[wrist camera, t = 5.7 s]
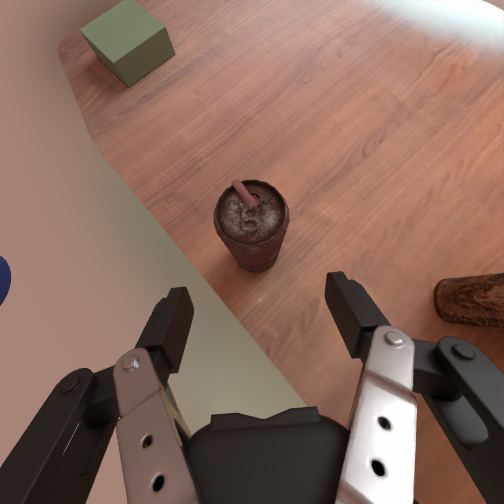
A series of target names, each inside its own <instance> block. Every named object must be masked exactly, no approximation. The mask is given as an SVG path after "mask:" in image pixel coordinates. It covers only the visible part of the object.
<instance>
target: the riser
mask: <svg viewBox="0 0 504 504" xmlns="http://www.w3.org/2000/svg"><path fill="white" fill-rule="evenodd" d="M79 31H80V32H81V34H82V35H83V36H84V38H85V39H86V41H87V42H88V44H89V45H90V47H91V48H92V49H93V51H94V52H95V54H96V55H97V57H98V58H99V59H100V60H101V61H102V62H103V63H104V64H105V65H106V66H108V67H109V68H110V69H111V70H112V71H113V72H114V73H115V74H116V75H117V76H118V77H119V78H120V79H121V80H122V81H123V82H124V83H125V84H126V85H127V86H128V87H130V86H132V85H133V84H135V83H136V82H137V81H139V80H140V79H141V78H143V77H144V76H146V75H147V74H148V73H150V72H151V71H152V70H154V69H155V68H157V67H158V66H159V65H161V64H162V63H163V62H165V61H166V60H168V59H169V58H170V57H172V56H173V55H174V54H175V52H174V49H173V46H172V43H171V41H170V38H169V35H168V32H167V29H166V27H165V26H164V25H163V24H162V23H161V22H159V21H158V20H157V19H156V18H155V17H153V16H152V15H151V14H150V13H148V12H147V11H146V10H145V9H144V8H142V7H141V6H140V5H139V4H138V3H136V2H135V1H134V0H124V1H123V2H121V3H120V4H118V5H117V6H115V7H113V8H112V9H110V10H109V11H107V12H106V13H104V14H103V15H101V16H100V17H98V18H97V19H95V20H94V21H92V22H91V23H89V24H88V25H86V26H85V27H83V28H82V29H80V30H79Z"/></svg>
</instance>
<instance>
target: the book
mask: <svg viewBox="0 0 504 504" xmlns="http://www.w3.org/2000/svg"><path fill="white" fill-rule="evenodd" d="M434 305H435V308H436V311H437V313H438V315H439V316H440V318H441V319H442V320H443V321H445V322H449V323H455V324H461V325H467V326H473V327H479V328H485V329H491V330H498V331H504V273H500V274H490V275H480V276H470V277H460V278H450V279H443V280H441V281H440V282H439V283H438V284H437V285H436V288H435V291H434Z"/></svg>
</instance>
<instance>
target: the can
mask: <svg viewBox="0 0 504 504" xmlns="http://www.w3.org/2000/svg"><path fill="white" fill-rule="evenodd" d="M288 224H289V208H288V206H287V204H286V201H285V199H284V198H283V196H282V195H281V194H280V193H279V192H278V191H277V189H276V188H275V187H273V186H272V185H270V184H268V183H267V182H263V181H259V180H243V181H240V180H234V181H233V182H232V185H231V186H230V187H229V188H227V189H226V190H225V191H224V192H223V194H222V195H221V196H220V197H219V200H218V202H217V205H216V208H215V210H214V226H215V229H216V232H217V234H218V236H219V237H220V238H221V240H222V241H223V242H224V244H225V245H226V246H227V248H228V249H229V251H230V252H231V253H232V255H233V256H234V257H235V259H236V260H237V261H238V263H239V264H240V265H241V267H243V268H244V269H246V270H248V271H251V272H262V271H265V270H267V269H269V268H270V267H271V266H273V264H274V263H275V261H276V260H277V257H278V254H279V251H280V248H281V245H282V242H283V239H284V236H285V234H286V230H287V227H288Z"/></svg>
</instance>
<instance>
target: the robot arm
mask: <svg viewBox="0 0 504 504" xmlns="http://www.w3.org/2000/svg"><path fill="white" fill-rule="evenodd" d="M325 300H326V303H327V306H328V308H329V310H330V312H331V314H332V316H333V319H334V321H335V323H336V325H337V327H338V330H339V332H340V334H341V336H342V338H343V340H344V343H345V345H346V347H347V349H348V351H349V354H350V356H351V358H352V359H354V358H360V359H361V361H362V363H363V366H362V369H361V373H360V377H359V381H358V385H357V389H356V393H355V397H354V401H353V404H352V408H351V411H350V415H349V418H348V422H347V425H346V428H345V427H344V426H342V425H341V424H339V423H338V422H336V421H334V420H333V419H331V418H328V417H326V416H323V415H319V413H318V409H317V406H315V407H303V408H291V409H288V410H286V411H283V412H281V413H279V414H276V415H274V416H272V417H269V418H266V419H260V418H256V417H252V416H248V415H244V414H240V413H228V414H215V415H211V423H210V424H208V425H206V426H204V427H203V428H201V429H200V430H198V431H197V432H196V433H194V434H193V435H191V433H190V431H189V429H188V427H187V425H186V423H185V421H184V420H183V417H182V415H181V413H180V410H179V408H178V405H177V403H176V401H175V398H174V396H173V393H172V391H171V388H170V386H169V384H168V382H167V381H168V378H169V375H170V374H172V373H178V371H179V367H180V363H181V360H182V356H183V353H184V349H185V345H186V342H187V338H188V334H189V331H190V327H191V323H192V319H193V315H194V307H193V303H192V301H191V298H190V296H189V293H188V290H187V288H186V287H177V288H171V290H170V292H169V294H168V296H167V298H162V299H161V300H160V301H159V302H158V304H156V306H155V308H154V310H153V312H152V315H151V316H150V318H149V320H148V322H147V324H146V326H145V328H144V330H143V332H142V334H141V336H140V338H139V340H138V342H137V344H136V346H135V348H134V349H132V350H130V351H128V352H127V353H125V354H124V355H123V356H122V357H121V358H120V359H119V360H118V361H117V363H116V364H115V365H114V366H111V367H109V368H106V369H104V370H101V371H98V372H96V373H93V372H92V371H91V370H90V369H88V368H81V369H78V370H75V371H73V372H71V373H70V374H68V375H67V376H65V377H64V378H63V379H62V380H61V381H60V382H59V383H58V384H57V385H56V386H55V388H54V389H53V391H52V392H51V394H50V395H49V397H48V398H47V400H46V401H45V402H44V404H43V405H42V407H41V408H40V410H39V411H38V413H37V414H36V416H35V417H34V419H33V420H32V422H31V423H30V425H29V426H28V428H27V429H26V430H25V432H24V433H23V435H22V436H21V438H20V439H19V441H18V442H17V444H16V445H15V447H14V448H13V450H12V452H11V453H10V454H9V456H8V457H7V458H6V460H5V461H4V463H3V464H2V466H1V468H0V504H86V501H87V498H88V496H89V493H90V491H91V488H92V486H93V483H94V480H95V478H96V475H97V472H98V470H99V467H100V465H101V462H102V459H103V457H104V455H105V452H106V449H107V447H108V444H109V442H110V439H111V436H112V434H113V431H114V429H115V426H116V433H117V439H118V446H119V452H120V458H121V464H122V471H123V477H124V483H125V489H126V495H127V502H128V504H419V503H418V502H417V501H416V500H415V499H414V498H413V489H414V465H415V441H416V418H417V400H416V397H415V396H413V394H412V391H413V392H417V393H420V394H421V395H422V396H423V398H424V400H425V401H426V403H427V405H428V406H429V408H430V410H431V411H432V413H433V415H434V416H435V418H436V420H437V421H438V423H439V425H440V426H441V428H442V430H443V431H444V433H445V435H446V436H447V438H448V440H449V441H450V443H451V445H452V446H453V448H454V450H455V451H456V453H457V455H458V456H459V458H460V460H461V461H462V463H463V465H464V466H465V468H466V470H467V471H468V473H469V475H470V476H471V478H472V480H473V481H474V483H475V485H476V486H477V488H478V490H479V491H480V493H481V495H482V496H483V498H484V500H485V501H486V503H487V504H504V373H503V372H502V371H501V370H500V369H499V368H498V367H497V366H496V365H495V364H494V363H493V362H492V361H491V360H490V359H489V358H488V357H487V356H486V355H485V354H484V352H482V351H481V350H480V349H479V348H478V347H476V346H475V345H473V344H472V343H470V342H468V341H466V340H464V339H461V338H458V337H453V336H446V337H442V338H441V339H440V340H439V341H438V343H433V342H427V341H422V340H417V339H412V338H410V336H409V335H408V334H406V333H405V332H404V331H402V330H400V329H399V328H396V327H393V326H391V324H390V323H389V322H388V320H387V319H386V318H385V316H384V315H383V314H382V312H381V311H380V309H379V308H378V307H377V305H376V304H375V303H374V301H372V299H371V297H370V296H369V294H367V292H366V290H365V289H364V288H363V286H362V285H361V284H359V283H358V282H356V281H355V280H348V278H347V277H346V275H345V274H344V273H343V272H342V271H339V272H329V273H327V277H326V286H325ZM119 417H120V419H119V420H118V418H119ZM78 423H79V426H78V427H77V425H78ZM76 427H77V429H76ZM75 429H76V431H75ZM74 431H75V433H74ZM73 433H74V435H73ZM72 435H73V437H72ZM71 437H72V439H71ZM70 439H71V441H70ZM69 441H70V443H69ZM68 443H69V445H68ZM67 445H68V447H67ZM66 447H67V449H66ZM65 449H66V451H65ZM64 451H65V452H64ZM63 453H64V454H63Z"/></svg>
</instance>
